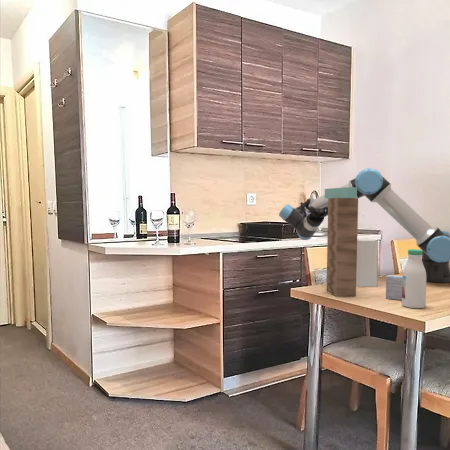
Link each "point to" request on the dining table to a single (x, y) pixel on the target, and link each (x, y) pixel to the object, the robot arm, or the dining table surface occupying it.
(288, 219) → the robot arm
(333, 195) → the teal bar
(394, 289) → the medicine box
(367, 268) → the grey block
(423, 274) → the milk bottle
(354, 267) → the walnut stand
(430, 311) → the dining table surface
